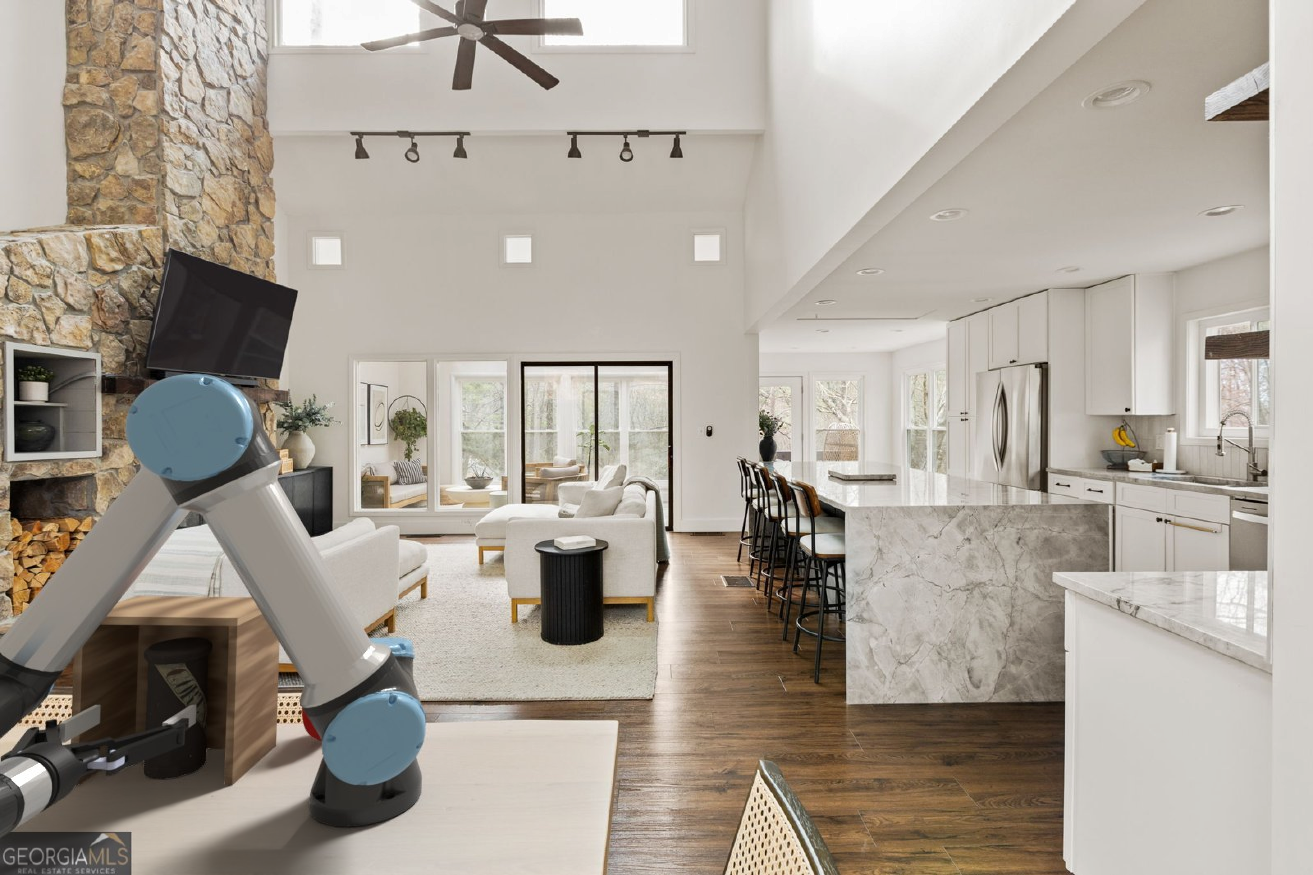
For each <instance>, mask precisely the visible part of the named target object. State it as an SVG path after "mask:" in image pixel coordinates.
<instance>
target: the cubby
mask: <svg viewBox="0 0 1313 875" xmlns="http://www.w3.org/2000/svg"><path fill="white" fill-rule="evenodd" d="M186 637H200V638H205V639H207V640H209V641H210V642H211V643H212V645H213V648H212V650H211V652H210V654H209V655H208V674H207V750H224V753H225V754H224V772H223V776H224V778H223V780H224V781H223V785H224V786H233V785H235V783H236V782H238V781H239V780H240V779H241V778H242V777H244V775H246V774H247V773H248V772H249V771H250V770H251V769H252V768H253V767H254V766H256V765H257V764H258V763H259V762H260V761H261V760H262V759H264V758H265V756H266V755H267V754H269V752H271V751H273V749H275V747H277V731H278V728H277V727H278V701H279V700H278V699H279V698H278V696H279V694H278V693H279V671H280V670H279V667H280V665H279V664H280V642H279V641H278V639H277V637H276V636H275V634H274V633H273V631H272V629H271V628H270V626H269V624H268V623H267V621H266V619H265V618H264V616H263V615H262V613H261V611H260V610H259V608H258V606H257V605H256V603H255V601H254V600H253V598H252V597H251V596H249V597H247V596H245V597H244V596H182V595H181V596H176V595H175V596H174V595H173V596H172V595H170V596H169V595H168V596H167V595H165V596H164V595H136V596H133V597H130V598H127V599H123V600H121V601H120V600H119V601H118V603H117V604H116V605H115V606H114V608H113V609H112V610H111V611H110V613H109V614H108V615H107V616H106V618H105V619H104V620H103V621H102V623H101V624H100V625H99V626H98V628H97V629H96V630H95V632H94V633H93V634H92V635H91V637H90V638H89V639H88V640H87V642H86V643H85V644H84V645H83V647H82V648H81V649H80V650H79V652H78V653H77V654H76V655H75V657H74V658H73V660H72V661H73V665H72V691H71V692H72V697H71V717H73V716H75V715H77V714H78V713H80V712H82V711H84V710H86V709H88V708H90V707H92V706H94V705H100V723H99V724H97V725H96V726H94V727H92V728H90V729H88V730H87V731H85V732H83V733H81V734H79V735H78V736H76V737H74V738H72V739H70V744H71V743H82V742H87V743H89V742H93V741H96V740H100V739H104V738H107V737H110V738H112V739H118V738H121V737H125V736H128V735H132V734H136V733H139V732H143V731H145V729H146V706H147V685H148V662H147V661H146V659H145V658H144V651H145V650H146V649H147V648H148V647H150V646H151V645H153V644H155V643H158V642H162V641H166V640H171V639H177V638H186ZM104 756H105V745H104V746H101V747H100V758H104ZM103 770H104V769H98V770H96V771H94V772H92V773H89V774H87V775H85V776H82V777H81V778H80V780H79V781H78V782H77V784H76V785H75V787H76V786H77V787H78V786H80V785H81V784H83V783H84V782H86V781H87V779H88V780H90V779H91V778H93V777H94V776H95V775H97V774H98V773H100V772H101V771H103Z"/></svg>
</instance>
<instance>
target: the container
mask: <svg viewBox="0 0 1313 875" xmlns="http://www.w3.org/2000/svg"><path fill="white" fill-rule="evenodd" d="M212 648H213V645H212V643H211V642H210V641H209V640H207V639H205V638H200V637H186V638H177V639H171V640H166V641H162V642H158V643H155V644H153V645H151V646H150V647H148V648H147V649H146V650H145V651H144V658H145V659H146V661H147V662H148V685H147V706H146V729H145V731H147V730H150V729H154V728H158V727H161V726H162V724H163V722H165V721H166V720H168V719H169V718H171V717H173V716H174V715H176V714H177V713H179V712H181V711H182V710H184V709H185V708H187V707H188V706H190V705H196V723H195V724H193V725H192V726H190V727H189V728H188V730H186V731H185V741H184V745H183V746H181V747H178V748H176V749H173V750H171V751H168V752H165V753H163V754H160V755H158V756H155V757H153V758H150V759H148V760H145V761H143V775H144V776H145V777H146V778H147V779H153V780H170V779H177V778H181V777H183V776H188V775H190V774H191V775H192V774H193V773H196V772H198V771H199V770H200V769H202V768H203V767H204V766H205V764H206V763H207V756H208V755H207V754H208V751H207V750H208V749H207V674H208V655H209V654H210V652H211V650H212Z"/></svg>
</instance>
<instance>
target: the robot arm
mask: <svg viewBox="0 0 1313 875" xmlns="http://www.w3.org/2000/svg"><path fill="white" fill-rule="evenodd" d="M262 414H263V413H262V411H261V410H260V408H259V405H258V404H257V402H255V400H254V399H253V398H252V397H251V396H250V395H249V394H248V393H247V392H245V391H243V389H241V388H239V387H237V386H235V385H233V384H231V383H230V382H228V381H226V380H224V379H222V378H219V377H217V376H213V375H210V374H204V373H203V374H202V373H184V374H178V375H174V376H173V375H172V376H169V377H166V378H162V379H160V380H158V381H156V382H154V383H152V384H151V385H149V386H148V387H147V388H145V389H144V390H143V391H141V392H140V393H139V395H138V396H137V397H136V398H135V400H134V401H133V402H132V404H131V406H130V408H129V410H128V412H127V415H126V418H125V436H126V438H125V439H126V441H127V443H128V447H129V449H130V450H131V452H132V453H133V455H134V456H135V458H136V459H137V460H138V461H139V466H140V468H139V470H138V472H137V473H136V474H135V476H133V478H132V479H131V480H130V481H129V483H128V484H127V485H126V486H125V487H124V489H123V490H122V491H121V492H120V493H119V495H118V496H117V497H116V498H115V500H114V501H113V502H112V503H111V505H110V506H109V507H108V508H107V509H106V510H105V512H104V513H103V514H102V515H101V517H100V518H99V519H98V521H96V523H95V524H94V526H93V527H92V528H91V529H90V530H89V531H88V533H87V534H86V535H85V536H84V537H83V538H82V540H81V541H80V542H79V544H78V545H77V546H76V547H75V548H74V549H73V551H72V552H71V553H70V554H69V555H68V557H67V558H65V560H64V562H63V563H62V564H61V565H60V567H58V568H57V570H56V571H55V573H54V574H53V575H52V576H51V577H50V579H49V580H48V581H47V582H46V583H45V584H44V586H43V587H42V589H41V590H40V591H39V592H38V593H37V595H36V596H35V597H34V598H33V599H32V600H31V602H30V603H29V604H28V605H27V607H26V608H25V609H24V610H23V611H22V612H21V614H20V615H19V616H18V618H17V619H16V620H15V621H14V622H13V623H12V625H11V626H10V627H9V629H8V630H7V631H6V632H5V633H4V634H3V635H2V637H1V638H0V740H1V739H2V738H3V737H4V736H5V735H6V734H8V733H9V732H10V731H11V730H12V729H13V728H15V726H16V725H18V724H19V723H20V722H21V721H22V720H23V719H25V718H26V717H27V716H28V715H29V714H31V713H33V712H34V711H36V710H37V709H38V708H39V707H40V706H41V704H43V702H45V700H46V699H47V697H48V696H49V695H50V694H51V692H52V690H53V688H54V687H55V684H56V682H57V680H58V679H59V678H60V676H61V675H62V674H63V672H64V671H65V669H66V668H67V667H68V665H70V663H71V662H72V661H73V660H74V657H75V655H76V654H77V653H78V652H79V650H80V649H81V648H82V647H83V645H84V644H85V643H86V642H87V640H88V639H89V638H90V637H91V635H92V634H93V633H94V632H95V630H96V629H97V628H98V626H99V625H100V624H101V623H102V621H103V620H104V619H105V618H106V616H107V615H108V614H109V613H110V611H111V610H112V609H113V608H114V606H115V605H116V604H117V603H118V602H120V600H121V599H122V597H123V596H125V594H126V593H127V591H128V590H129V588H130V587H132V585H133V584H134V583H135V581H136V580H137V579H138V577H139V576H141V574H142V572H143V571H144V570H145V568H147V566H148V565H149V564H150V563H151V561H152V560H153V558H154V557H155V556H156V555H157V554H158V552H159V551H160V549H162V548H163V546H164V544H165V543H166V542H167V541H168V540H169V539H170V537H172V535H173V533H174V532H175V531H176V529H177V528H178V527H179V526H180V525H181V523H182V522H183V521H184V519H185V518H186V517H187V516H188V514H189V513H190V512H194V513H197V514H199V515H201V516H202V518H203V519H204V521H205V523H206V525H207V526H208V528H209V529H210V531H211V532H212V534H213V536H214V537H215V539H216V542H218V545H219V546H220V547H221V549H222V551H223V552H224V554H225V556H226V557H227V559H228V560H229V562H230V563H231V566H232V568H233V569H234V570H235V572H236V574H237V575H238V576H239V578H240V580H241V581H242V583H243V585H244V587H245V588H246V590H247V592H248V593H249V595H250V597H252V598H253V600H254V601H255V603H256V605H257V606H258V608H259V610H260V611H261V613H262V615H263V616H264V618H265V619H266V621H267V623H268V624H269V626H270V628H271V629H272V631H273V633H274V634H275V636H276V637H277V639H278V641H279V645H280V646H281V647H282V649H283V650H284V653H285V654H286V656H287V657H288V659H289V661H290V662H291V664H292V665H293V668H294V669H295V670H296V672H297V674H298V675H299V676H300V678H301V680H302V682H303V684H304V686H303V689H302V692H301V695H300V698H299V704H300V707H301V709H302V708H303V710H304V712H305V713H306V715H307V716H308V718H309V720H310V721H311V723H312V725H313V726H314V728H315V730H316V731H317V733H318V734H319V736H320V738H321V740H322V741H321V754H322V758H321V761H320V764H319V767H318V769H317V773H316V775H315V778H314V779H313V780H314V781H313V782H312V785H311V789H310V792H309V793H310V794H309V814H310V815H311V816H312V818H313V819H314V820H316V821H318V822H319V823H322V824H325V825H329V826H335V827H359V826H360V827H361V826H368V825H372V824H376V823H380V822H383V821H386V820H388V819H389V820H390V819H392V818H394V817H396V816H398V815H400V814H402V813H403V812H406V811H407V810H408V809H410V808H411V807H412V806H413V805H414V804H416V803H417V802H418V800H419V799H420V797H421V795H422V791H423V790H422V788H423V787H422V786H423V784H422V783H423V775H422V770H421V767H420V764H419V762H418V758H417V756H418V754H419V753H420V751H421V750H422V747H423V745H424V741H425V737H426V730H427V728H426V726H427V720H426V719H427V714H426V711H425V709H424V707H423V706H422V703H421V702H422V701H421V700H420V697H419V693H418V689H417V686H416V685H415V681H414V659H416V658H415V656H416V655H415V653H414V645H413V642H412V641H411V640H410V639H407V638H404V637H372V638H371V637H369V636H368V633H366V631H365V628H364V627H363V625H362V623H361V622H360V620H359V618H358V616H357V615H356V613H355V611H354V610H353V609H352V607H351V605H350V603H349V601H348V599H347V597H346V596H345V595H344V592H343V591H342V590H341V588H340V586H339V584H338V583H337V581H336V579H335V577H334V575H333V573H332V572H331V570H330V569H329V567H328V565H327V563H326V561H325V560H324V558H323V557H322V555H321V553H320V551H319V549H318V548H317V545H316V544H315V543H314V541H313V539H312V537H311V535H310V534H309V532H308V530H307V529H306V526H304V524H303V522H302V521H301V520H302V519H301V518H300V517H299V515H298V513H297V511H296V510H295V508H294V507H293V505H292V503H291V501H290V499H289V498H288V496H287V494H286V493H285V491H284V489H283V487H282V485H281V484H280V482H279V481H278V479H279V473H280V471H281V467H282V464H283V460H282V458H281V456H280V454H279V453H278V451H277V449H276V447H275V446H274V444H273V442H272V440H271V439H270V436H269V435H268V434H267V432H266V430H265V428H264V418H263V415H262ZM99 723H100V705H94V706H92V707H90V708H88V709H86V710H84V711H82V712H80V713H78V714H77V715H75V716H73V717H72V716H71V717H68V718H67V719H65V720H63V721H60V722H59V723H58V719H56V718H55V719H54V718H53V719H48V720H46V721H45V725H44V726H45V729H40V727H39V726H30V728H28V729H26V730H25V732H24V734H22V736H21V737H20V739H19V740H18V741H17V742H16V744H15V745H14V747H13V748H12V749H11V750H9V751H7V752H6V753H4V754H3V755H1V756H0V840H1V839H3V838H4V837H6V835H8V834H10V833H12V832H13V831H14V830H16V829H17V828H18V827H21V826H22V825H24V824H25V823H27V822H29V820H32V819H34V817H36V816H38V815H39V814H40V813H42V812H44V811H46V810H47V809H49V808H50V807H52V806H53V805H56V803H58V802H60V801H61V800H63V799H64V798H66V797H67V796H68V795H69V794H71V792H72V791H73V790H74V789H75V787H76V786H75V785H76V784H77V782H78V781H79V780H80V778H81V777H82V776H85V775H87V774H89V773H92V772H94V771H96V770H98V769H103V770H105V776H106V777H111V776H115V775H117V774H118V773H120V772H122V771H124V770H126V769H127V768H130V767H133V766H135V765H137V764H140V763H144V761H145V760H148V759H150V758H153V757H155V756H158V755H160V754H163V753H165V752H168V751H171V750H173V749H176V748H178V747H181V746H183V745H184V741H185V731H186V730H188V728H189V727H190V726H192V725H193V724H195V723H196V705H190V706H188V707H187V708H185V709H184V710H182V711H181V712H179V713H177V714H176V715H174V716H173V717H171V718H169V719H168V720H166V721H165V722H163V724H162V726H161V727H158V728H154V729H150V730H147V731H143V732H139V733H136V734H132V735H128V736H125V737H121V738H118V739H112V738H110V737H107V738H104V739H100V740H96V741H93V742H89V743H87V742H82V743H71V742H70V743H67V744H64V743H66V742H69V741H71V739H72V738H74V737H76V736H78V735H79V734H81V733H83V732H85V731H87V730H88V729H90V728H92V727H94V726H96V725H97V724H99ZM104 745H105V756H104V758H100V747H101V746H104Z"/></svg>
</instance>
